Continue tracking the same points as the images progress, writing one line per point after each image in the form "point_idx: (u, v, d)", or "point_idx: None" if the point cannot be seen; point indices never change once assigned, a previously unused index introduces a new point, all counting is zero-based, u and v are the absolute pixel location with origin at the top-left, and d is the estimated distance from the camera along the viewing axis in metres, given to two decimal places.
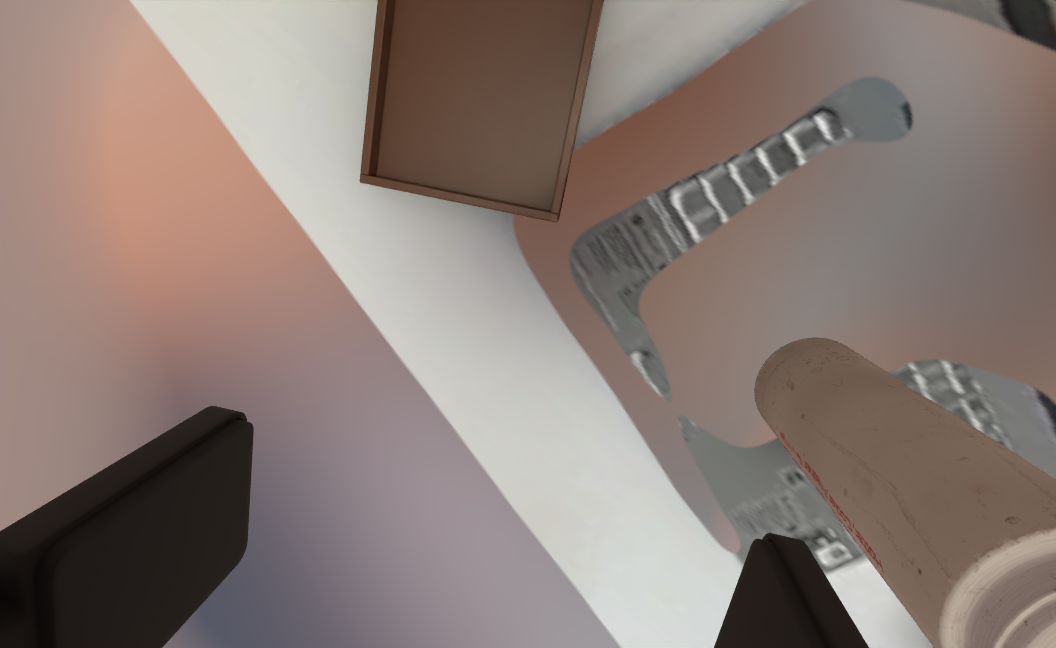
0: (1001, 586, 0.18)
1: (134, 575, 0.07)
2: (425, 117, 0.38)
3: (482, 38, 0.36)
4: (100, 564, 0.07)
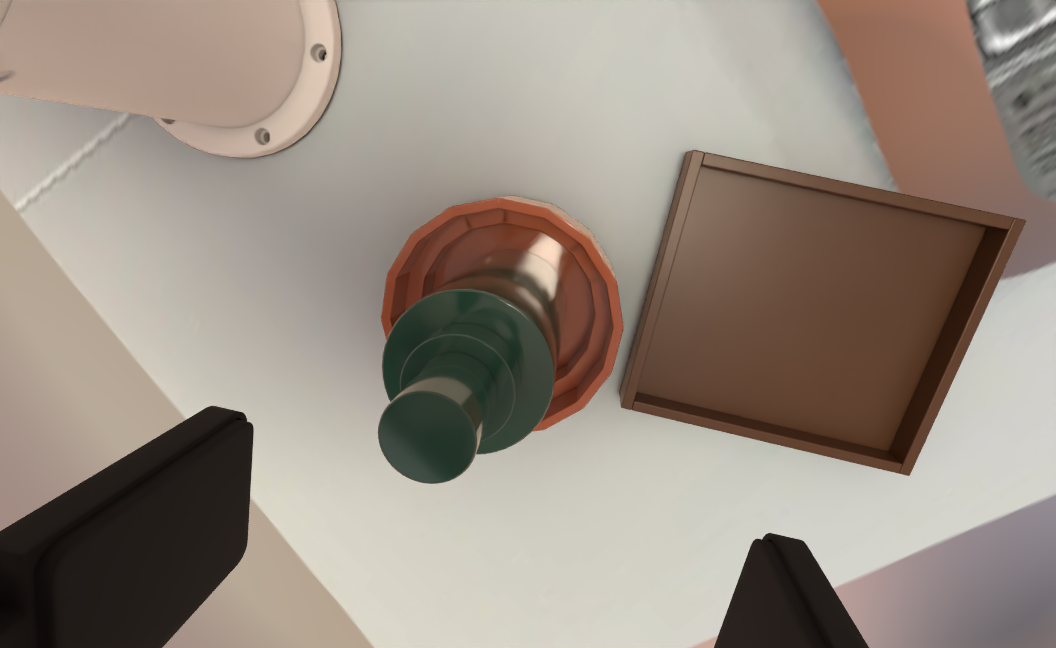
0: None
1: (134, 575, 0.07)
2: (827, 384, 0.30)
3: (746, 310, 0.30)
4: (100, 564, 0.07)
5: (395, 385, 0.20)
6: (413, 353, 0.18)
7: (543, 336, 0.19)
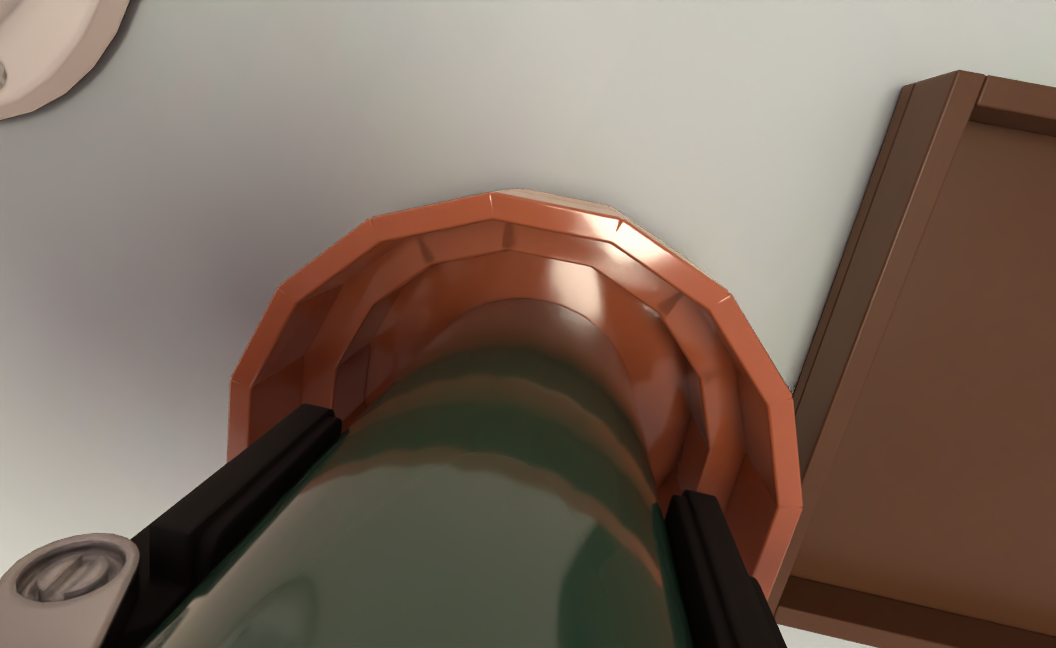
0: None
1: None
2: None
3: (1014, 419, 0.14)
4: None
5: None
6: None
7: None
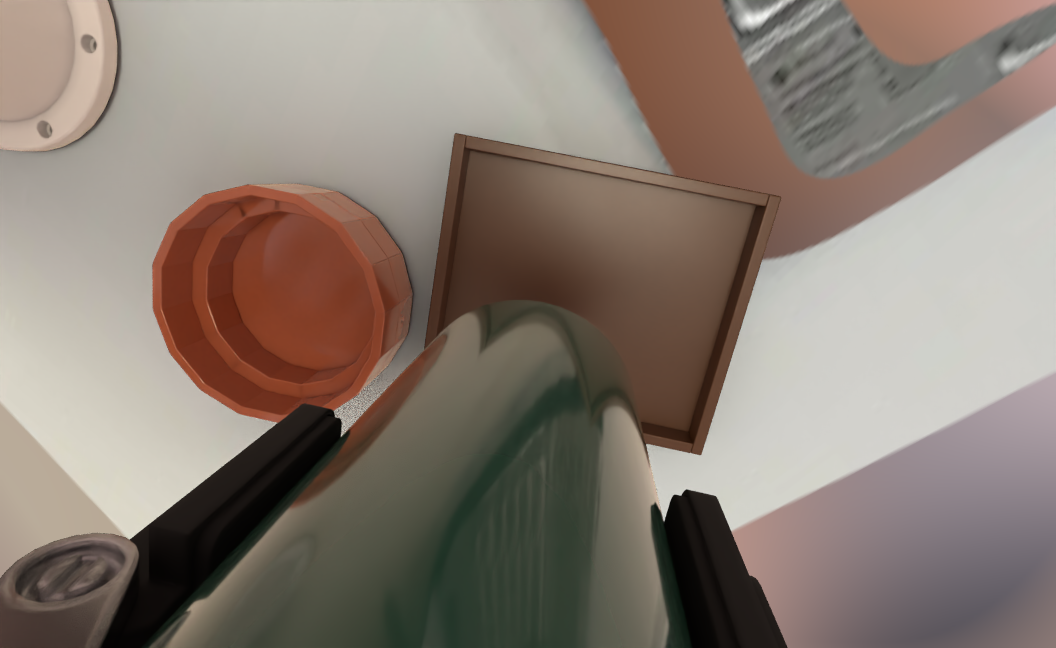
0: None
1: None
2: None
3: (536, 293, 0.30)
4: None
5: None
6: None
7: None
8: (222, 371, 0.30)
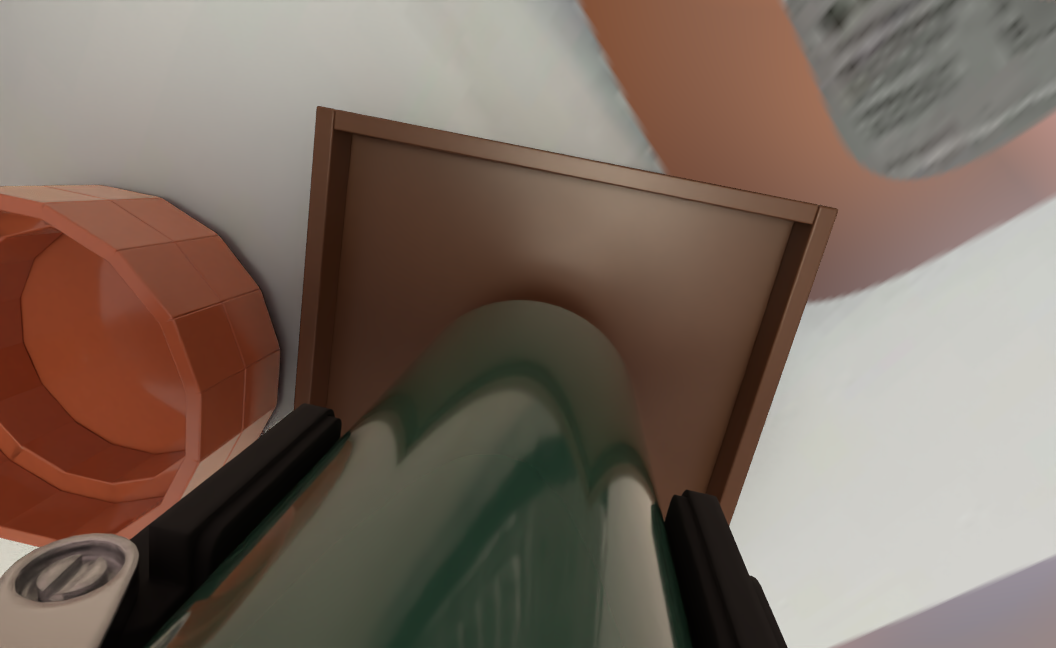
0: None
1: None
2: None
3: None
4: None
5: None
6: None
7: None
8: None
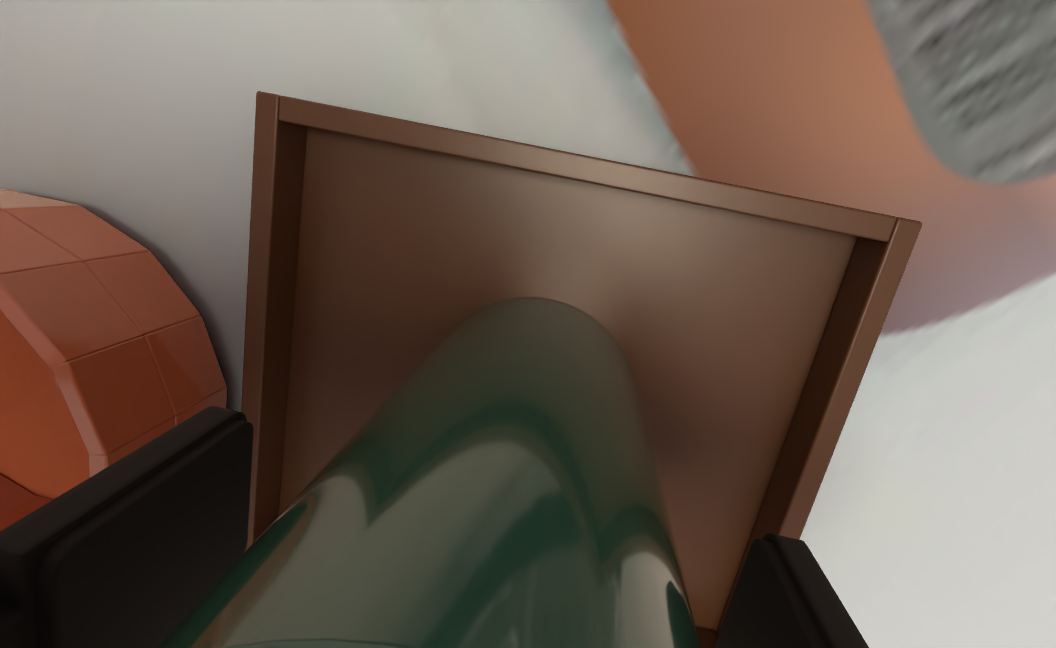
0: None
1: (134, 576, 0.07)
2: None
3: None
4: (100, 564, 0.07)
5: None
6: None
7: None
8: None
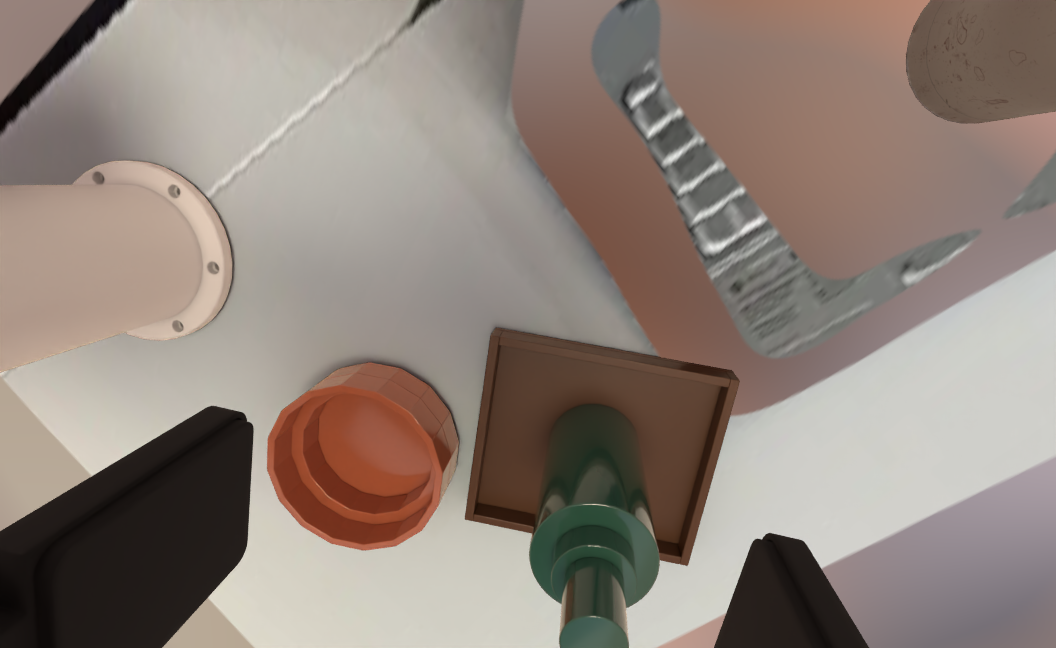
0: None
1: (134, 575, 0.07)
2: None
3: None
4: (100, 564, 0.07)
5: (539, 567, 0.27)
6: (561, 557, 0.25)
7: (651, 533, 0.26)
8: (315, 507, 0.38)
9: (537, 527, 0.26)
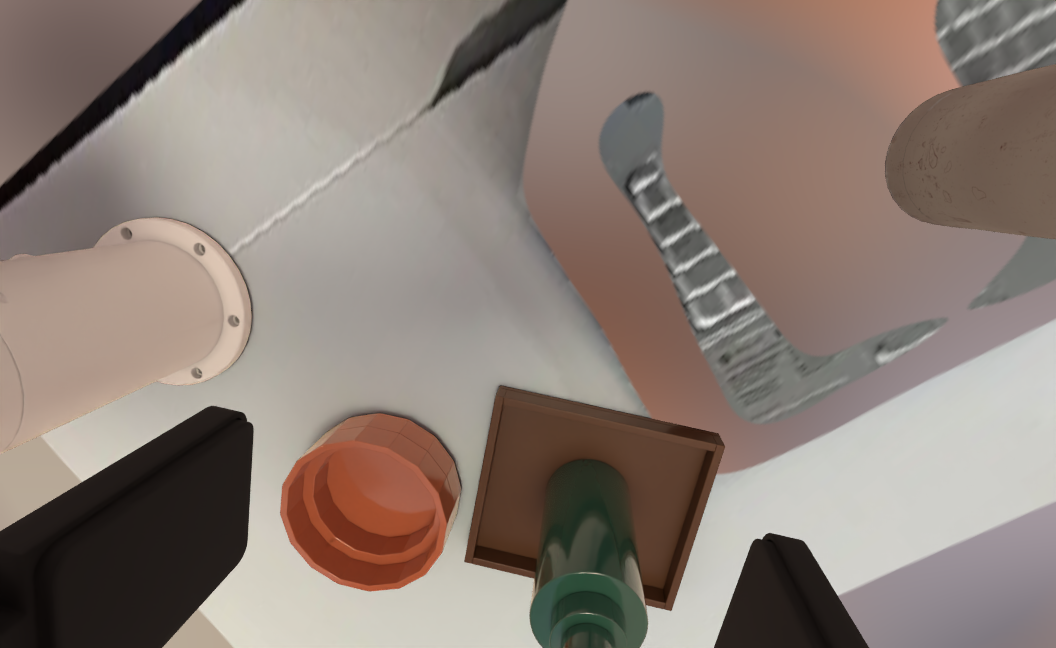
0: None
1: (134, 575, 0.07)
2: None
3: None
4: (100, 564, 0.07)
5: (538, 626, 0.29)
6: (560, 622, 0.27)
7: (641, 599, 0.28)
8: (323, 548, 0.41)
9: (538, 591, 0.29)
